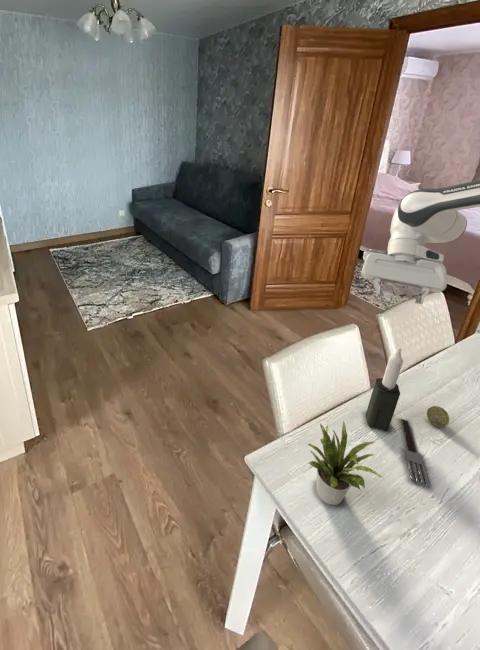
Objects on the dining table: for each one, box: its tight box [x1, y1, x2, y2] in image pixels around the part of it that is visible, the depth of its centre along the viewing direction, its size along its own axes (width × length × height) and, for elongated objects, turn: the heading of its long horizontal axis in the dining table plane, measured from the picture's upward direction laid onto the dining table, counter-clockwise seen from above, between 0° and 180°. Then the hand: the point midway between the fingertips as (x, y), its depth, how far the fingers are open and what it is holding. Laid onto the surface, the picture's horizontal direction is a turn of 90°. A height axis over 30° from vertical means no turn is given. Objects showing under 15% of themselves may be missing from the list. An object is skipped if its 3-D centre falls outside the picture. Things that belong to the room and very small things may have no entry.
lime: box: [426, 405, 450, 428], centre depth 93 cm, size 4×5×5 cm
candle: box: [365, 347, 404, 432], centre depth 89 cm, size 5×5×25 cm
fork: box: [400, 419, 430, 487], centre depth 86 cm, size 4×18×1 cm, turn 158°
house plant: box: [306, 420, 385, 506], centre depth 73 cm, size 14×14×16 cm
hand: (398, 299), depth 95 cm, fingers open, 8 cm apart
